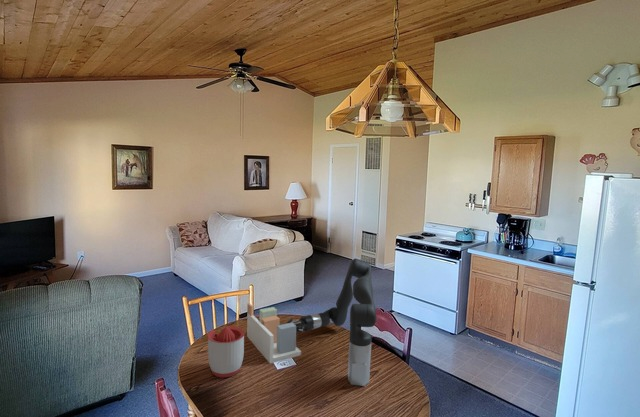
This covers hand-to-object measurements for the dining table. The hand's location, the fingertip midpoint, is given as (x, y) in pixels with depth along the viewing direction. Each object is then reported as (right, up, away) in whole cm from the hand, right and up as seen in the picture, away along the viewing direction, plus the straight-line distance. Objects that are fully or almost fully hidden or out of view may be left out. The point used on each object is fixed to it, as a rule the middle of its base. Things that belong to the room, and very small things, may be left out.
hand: (281, 328), depth 188 cm
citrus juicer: (-22, -10, -25) cm, 35 cm away
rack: (-4, -8, -1) cm, 9 cm away
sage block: (-8, -4, +9) cm, 13 cm away
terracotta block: (-5, -6, -2) cm, 8 cm away
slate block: (+3, -7, -10) cm, 13 cm away
